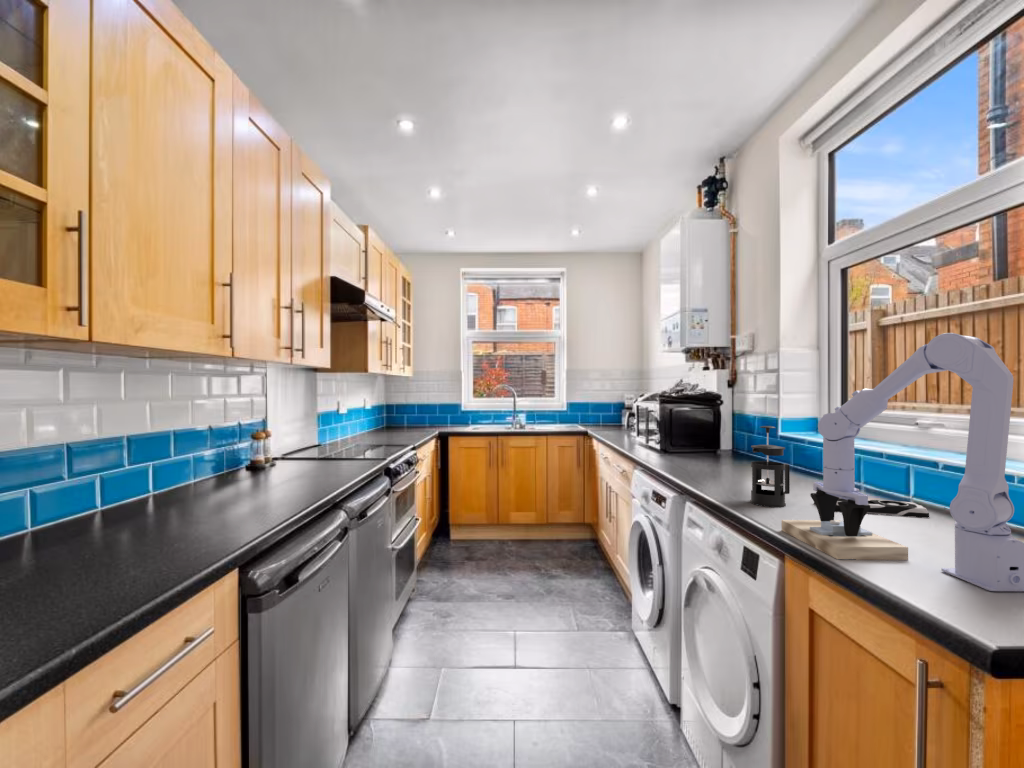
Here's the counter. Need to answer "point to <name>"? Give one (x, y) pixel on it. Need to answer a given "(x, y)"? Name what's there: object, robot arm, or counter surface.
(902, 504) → the graphics card
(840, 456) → the robot arm
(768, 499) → the french press
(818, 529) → the block
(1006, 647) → the counter surface
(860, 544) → the board
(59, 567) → the counter surface
